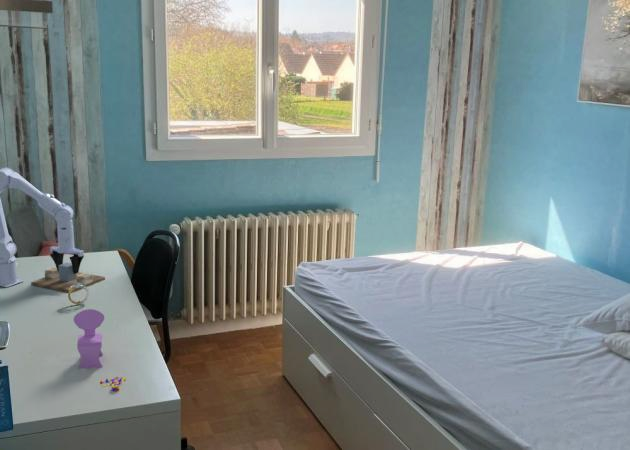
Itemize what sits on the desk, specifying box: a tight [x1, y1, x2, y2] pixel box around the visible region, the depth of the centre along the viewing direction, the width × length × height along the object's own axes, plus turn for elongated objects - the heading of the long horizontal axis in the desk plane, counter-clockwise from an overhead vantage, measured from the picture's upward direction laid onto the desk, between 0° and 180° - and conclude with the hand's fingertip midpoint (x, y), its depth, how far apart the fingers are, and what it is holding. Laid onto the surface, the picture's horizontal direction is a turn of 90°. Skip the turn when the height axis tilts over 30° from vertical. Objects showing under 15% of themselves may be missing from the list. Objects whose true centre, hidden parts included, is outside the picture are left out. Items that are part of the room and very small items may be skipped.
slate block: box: [58, 262, 76, 282], centre depth 256 cm, size 4×4×6 cm
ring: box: [67, 282, 90, 306], centre depth 233 cm, size 7×3×8 cm, turn 110°
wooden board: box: [30, 266, 106, 294], centre depth 257 cm, size 20×18×4 cm
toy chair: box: [73, 308, 105, 370], centre depth 188 cm, size 8×9×15 cm
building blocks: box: [100, 376, 127, 392], centre depth 177 cm, size 6×8×2 cm
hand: (68, 271), depth 257 cm, fingers open, 7 cm apart
